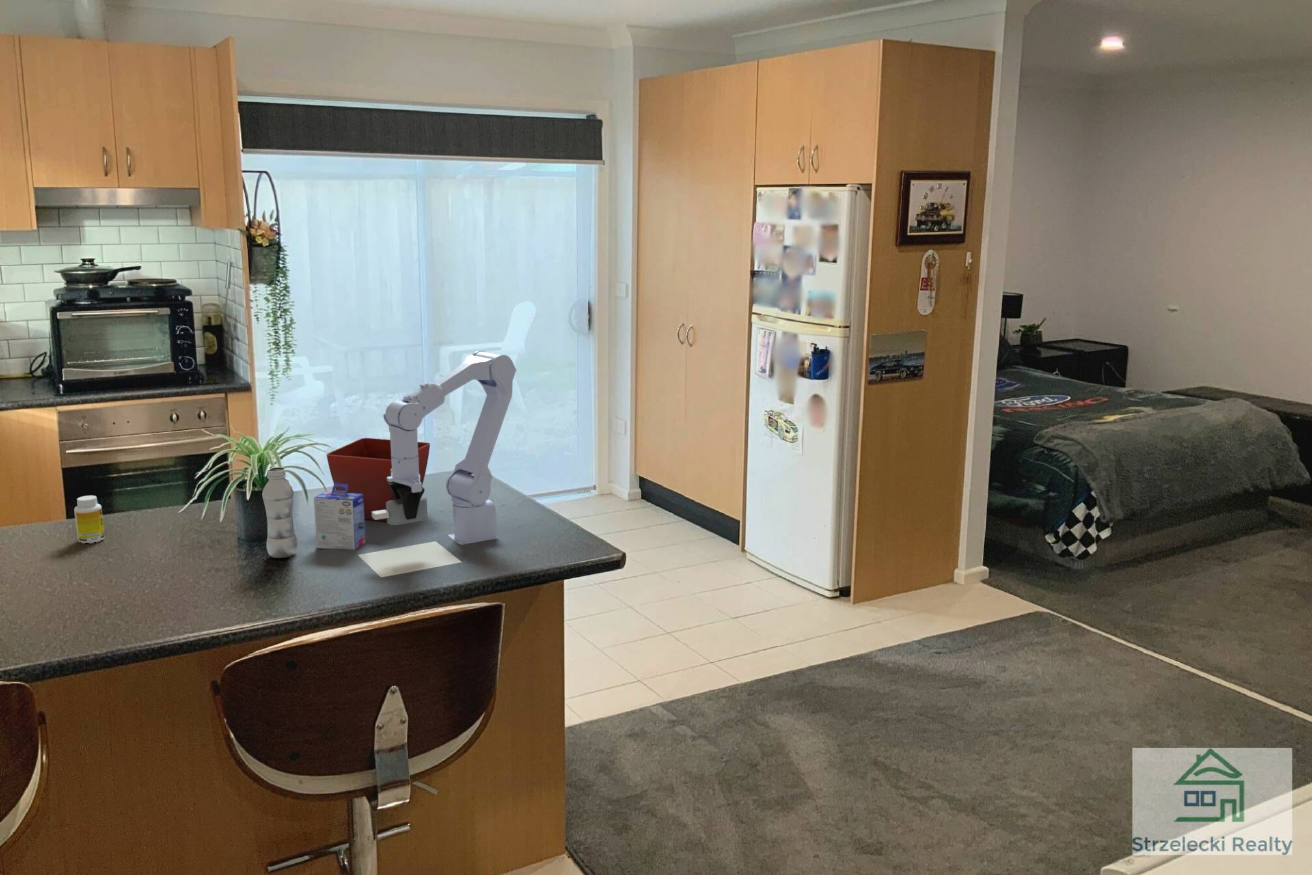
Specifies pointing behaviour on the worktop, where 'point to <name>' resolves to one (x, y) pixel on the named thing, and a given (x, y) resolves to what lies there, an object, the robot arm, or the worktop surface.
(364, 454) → the plant pot
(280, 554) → the plastic bottle
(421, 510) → the plug
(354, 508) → the ink cartridge box
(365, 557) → the mat
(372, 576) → the worktop surface
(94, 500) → the supplement bottle
